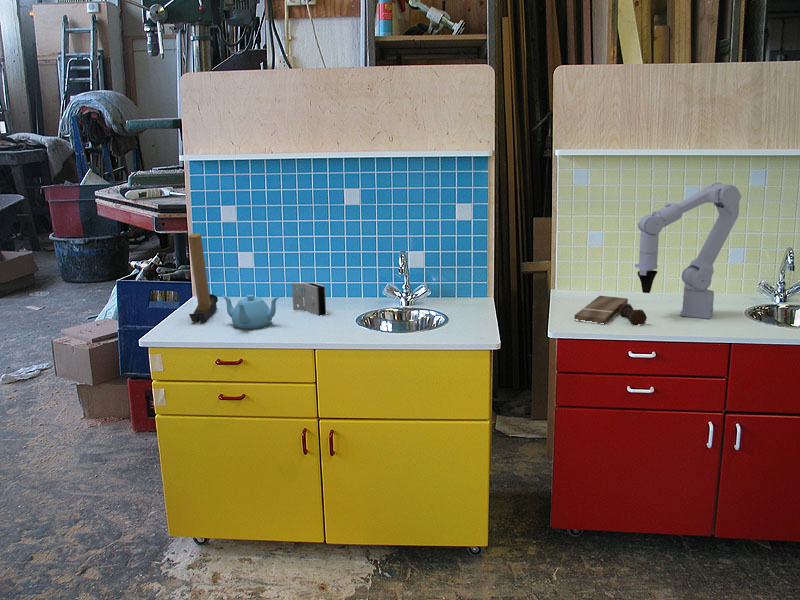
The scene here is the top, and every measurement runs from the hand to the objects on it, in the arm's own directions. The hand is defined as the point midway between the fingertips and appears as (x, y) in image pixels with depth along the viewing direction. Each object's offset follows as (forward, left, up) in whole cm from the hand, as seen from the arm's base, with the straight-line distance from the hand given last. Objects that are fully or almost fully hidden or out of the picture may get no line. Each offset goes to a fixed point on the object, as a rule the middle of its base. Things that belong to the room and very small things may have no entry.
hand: (646, 292), depth 249 cm
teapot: (+112, +68, -8) cm, 131 cm away
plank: (+14, +1, -8) cm, 16 cm away
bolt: (+4, +6, -9) cm, 11 cm away
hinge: (+105, +45, -8) cm, 115 cm away
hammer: (+135, +66, -8) cm, 150 cm away
